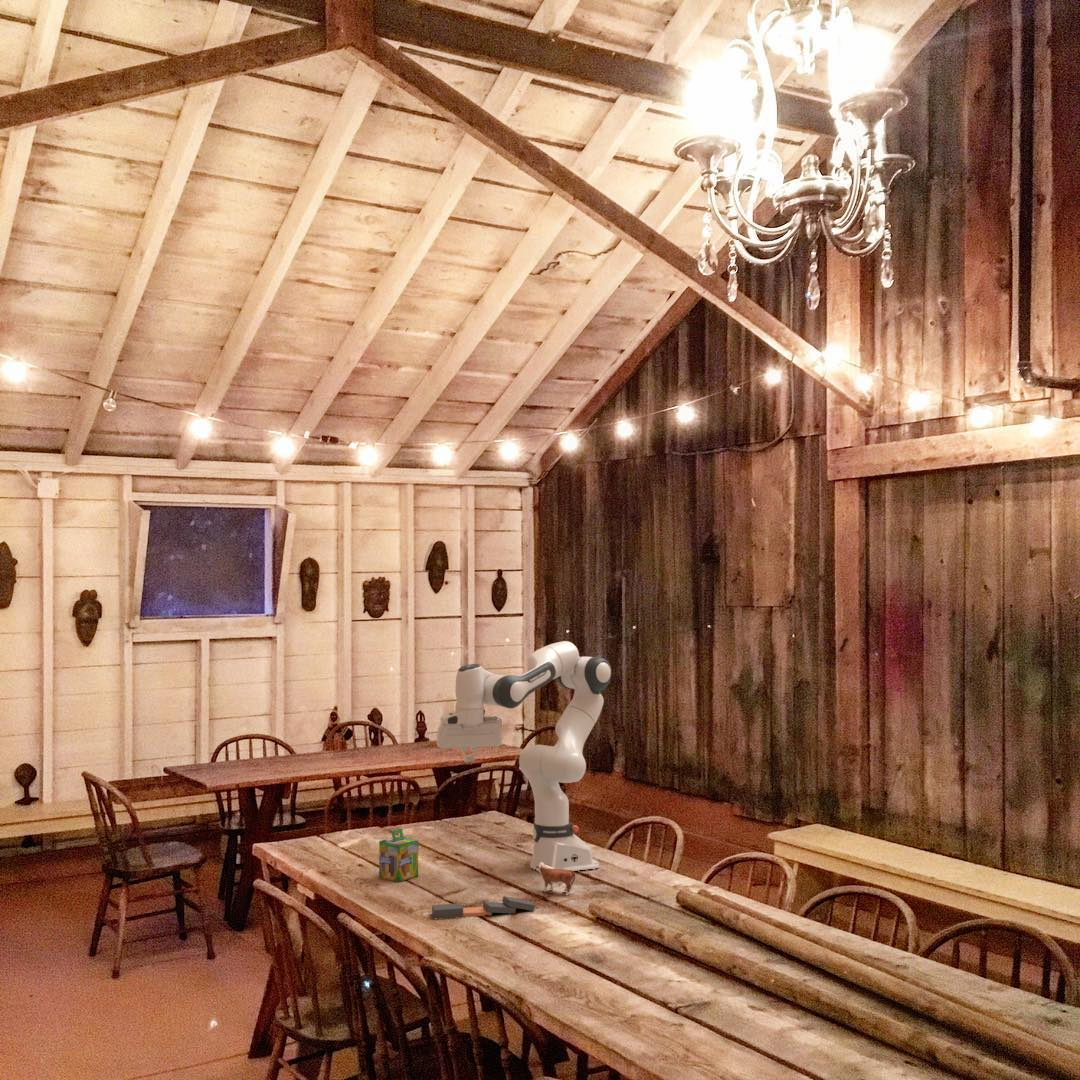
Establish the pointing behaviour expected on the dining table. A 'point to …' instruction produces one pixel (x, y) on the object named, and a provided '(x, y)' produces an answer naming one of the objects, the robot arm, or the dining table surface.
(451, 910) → the domino
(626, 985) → the dining table surface
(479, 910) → the domino
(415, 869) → the chalk box
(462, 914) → the domino
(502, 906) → the domino
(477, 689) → the robot arm
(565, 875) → the bull figurine
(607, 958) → the dining table surface
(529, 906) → the domino
